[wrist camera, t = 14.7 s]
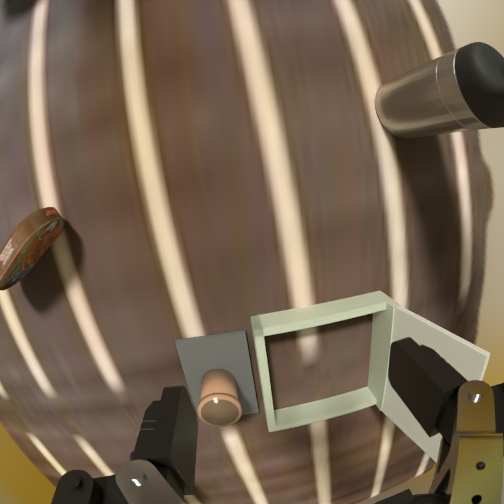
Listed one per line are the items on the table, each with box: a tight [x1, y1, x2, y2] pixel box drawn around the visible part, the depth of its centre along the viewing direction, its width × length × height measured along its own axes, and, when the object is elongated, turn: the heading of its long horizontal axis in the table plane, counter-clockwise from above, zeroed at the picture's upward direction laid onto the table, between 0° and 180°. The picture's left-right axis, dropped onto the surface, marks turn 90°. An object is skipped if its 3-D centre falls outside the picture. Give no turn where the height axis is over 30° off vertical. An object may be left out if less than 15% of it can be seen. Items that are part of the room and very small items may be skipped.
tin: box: [0, 207, 65, 290], centre depth 31 cm, size 15×3×8 cm, turn 128°
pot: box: [198, 369, 242, 427], centre depth 38 cm, size 6×6×7 cm
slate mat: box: [175, 330, 259, 420], centre depth 42 cm, size 10×16×1 cm, turn 8°
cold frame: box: [250, 291, 490, 463], centre depth 33 cm, size 23×20×22 cm
